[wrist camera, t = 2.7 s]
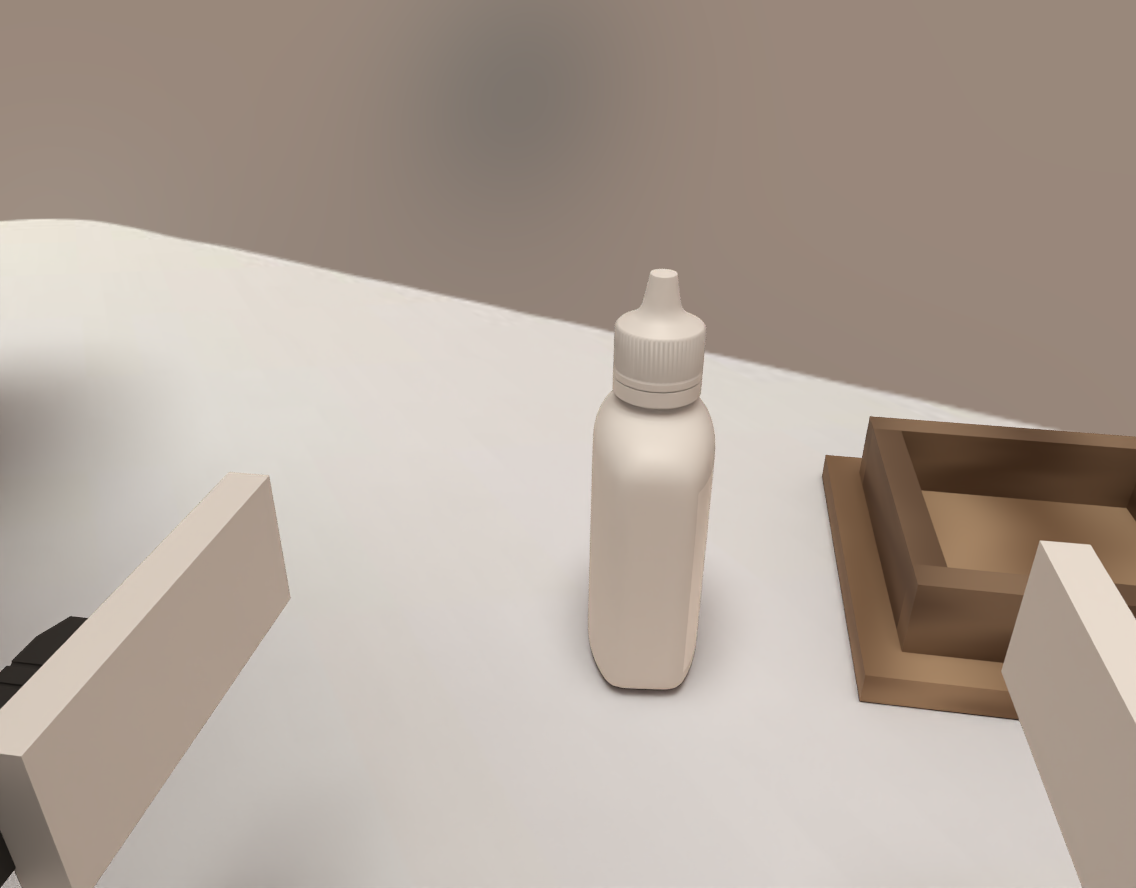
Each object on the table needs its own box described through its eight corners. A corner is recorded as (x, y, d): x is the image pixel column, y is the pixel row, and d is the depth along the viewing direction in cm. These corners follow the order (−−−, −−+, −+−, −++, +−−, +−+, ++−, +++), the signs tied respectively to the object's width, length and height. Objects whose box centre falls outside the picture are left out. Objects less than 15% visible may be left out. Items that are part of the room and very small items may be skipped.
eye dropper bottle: (738, 609, 31) (783, 259, 25) (663, 716, 26) (696, 324, 21) (622, 567, 33) (639, 233, 27) (536, 660, 28) (532, 288, 23)
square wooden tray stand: (859, 701, 27) (880, 606, 25) (822, 475, 38) (834, 400, 37) (1346, 757, 25) (1403, 660, 24) (1157, 504, 37) (1187, 426, 35)
